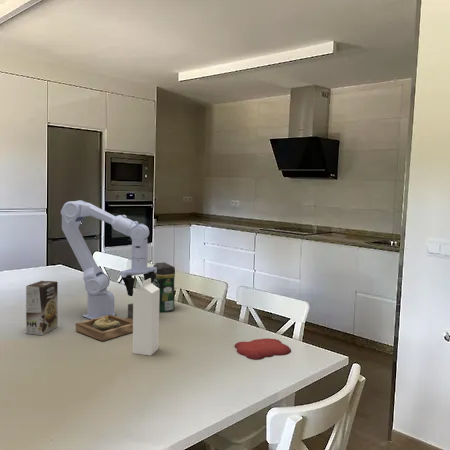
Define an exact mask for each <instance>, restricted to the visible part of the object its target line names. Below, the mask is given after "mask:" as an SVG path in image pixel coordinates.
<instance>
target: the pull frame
mask: <svg viewBox="0 0 450 450" xmlns="http://www.w3.org/2000/svg"><path fill="white" fill-rule="evenodd" d="M105 317H106V316H103V317H99V318H95V319H88V320H84V321H80V322H76V323H75V332H78V333H81V334H83V335H86V336H87V337H91V338H94V339H96V340H98V341H101V342H104V341H107V340H110V339H114V338H116V337H120V336H123V335H126V334H130V333H133V303H128V304H127V317H126V318H123V317H119V316H116V315H115V316H114V315H107V317H108V319H109V320H110V321H111V322H114V321H119V322H120V325H121V327H117V328H114V329H110V330H107V331H100V330H97V329H95V328H93V325H94V323H95V321H96V320H99V319H102V318H105Z"/></svg>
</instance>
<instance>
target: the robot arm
mask: <svg viewBox="0 0 450 450" xmlns="http://www.w3.org/2000/svg"><path fill="white" fill-rule="evenodd" d="M60 214H61V230H62V232H63V235H64V236H65V238H66V240H67V242H68V244H69V246H70V247H71V249H72V252H73V254H74V256H75V257H76V260H77V262H78V265H80V268H81V270H82V271H83V277H82V279H83V281H84V288H85V290H86V292H87V295H86V296H87V301H86V302H87V304H86V305H87V310H86V311H87V313H86V314H85V313H84V314H82V317H84V318H87V319H88V320H91V319H95V318H99V317H103V316H107V315H114V316H116V315H117V314H116V313H115V296H114V293H113V292H112V291H110V290H107V289H108V287H109V285H110V282H111V281H110V280H111V279H110V277H109V275H108V274H106V273H105V272H104V271H103V269H102V268H101V267H100V266H99V265H98V264H97V262H96V261H95V259H94V256H93V255H92V253H91V250H90V248H89V247H88V245H87V242H86V240H85V239H84V237H83V235H82V232H81V231H80V229H79V227H80V224H81V223H82V220H83V219H84V218H85V217H93V218H95V219H98V220H99V221H102V222H105V223H107V224H109V225H111V227H112V229H113V230H114V231H117V232H119V233H120V234H123V235H125V236H127V237H129V238H130V239H131V267H130V268H129V269H126V270H121V271H120V277H121V279H122V281H123V284H124V285H125V288H126V292H127V296H129V297H133V292H134V285H135V281H136V278H135V277H133V276H139V275H140V276H141V275H143V281H145V280H147V279H149V278H151V283H152V284H153V281H154V279H155V278H156V274H155V273H157V267H153V266H150V267H149V266H148V250H149V249H148V237H149V235H150V230H149V229H150V228H149V227H148V226H147V225H145V224H144V223H139V221H137V220H135V221H134V220H132V219H130V218H127V217H128V216H127V215H125V214H122V215H121V214H119V215H116V216H115V215H113V214H112V213H110V212H107V211H106V210H104V209H102V208H100V207H98V206H97V205H94V204H93V203H90V202H87V201H84V200H82V199H80V200H79V199H78V200H74V201H72V200H71V201H67V202H65V203H64V204H63V206H62V208H61V210H60Z"/></svg>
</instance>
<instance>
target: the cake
mask: <svg viewBox="0 0 450 450" xmlns="http://www.w3.org/2000/svg"><path fill="white" fill-rule="evenodd" d="M117 327H121V325H120V322H119V321H114V322H111V321H110V320H109V319H108V317H107V316H106V317H105V318H102V319H99V320H96V321H95V323H94V325H93V328H95V329H97V330H100V331H107V330H110V329H114V328H117Z"/></svg>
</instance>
